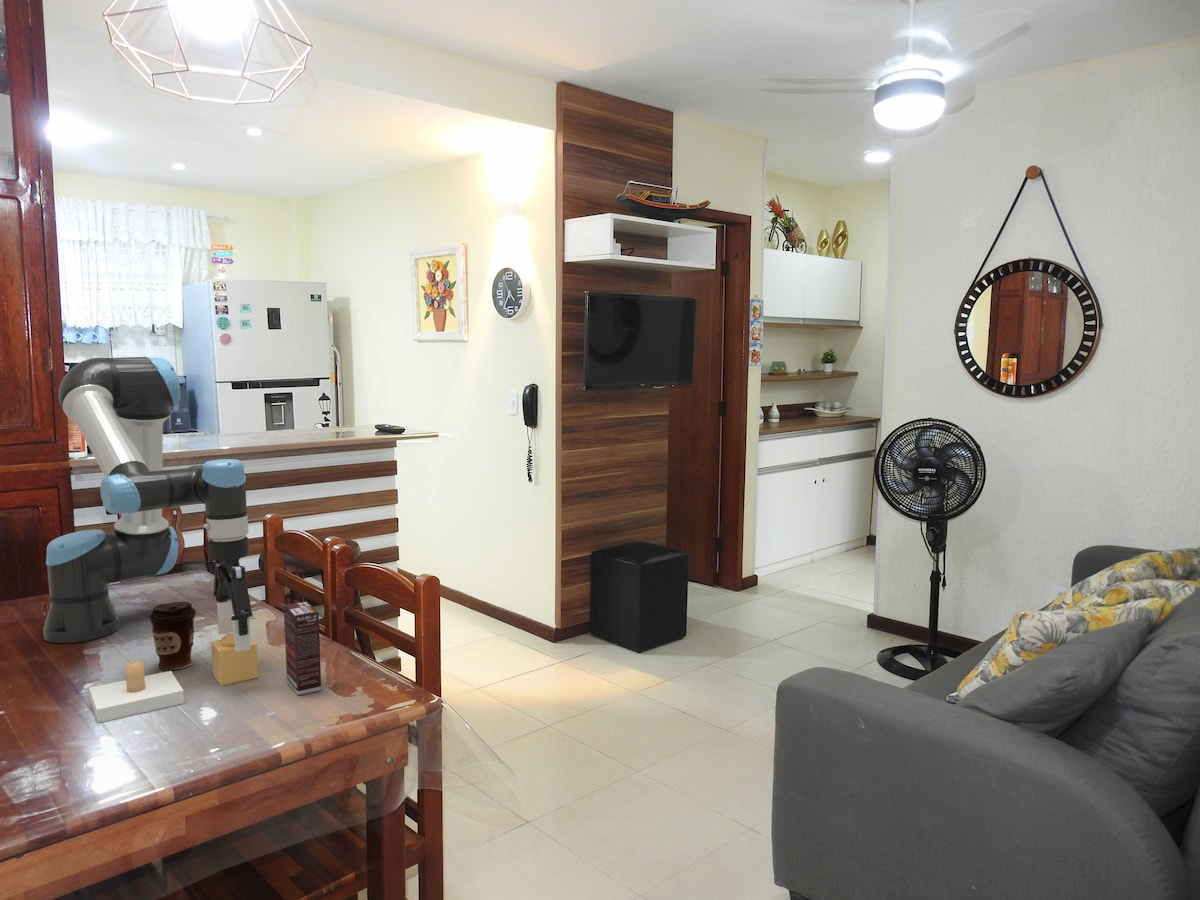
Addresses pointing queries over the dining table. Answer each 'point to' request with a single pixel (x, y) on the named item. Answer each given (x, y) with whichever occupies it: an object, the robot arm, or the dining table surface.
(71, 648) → the dining table surface
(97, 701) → the white rectangular block
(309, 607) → the supplement box
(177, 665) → the coffee cup
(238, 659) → the cube with hemisphere knob
